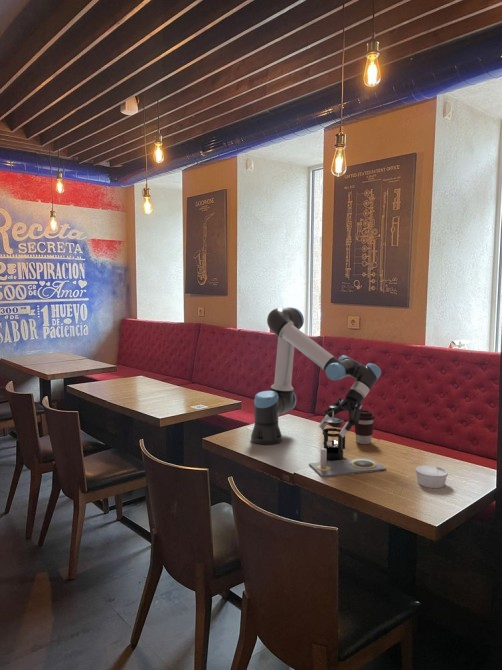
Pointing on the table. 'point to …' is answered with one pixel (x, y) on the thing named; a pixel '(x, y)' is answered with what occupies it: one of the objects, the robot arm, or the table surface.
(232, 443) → the table surface
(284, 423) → the table surface
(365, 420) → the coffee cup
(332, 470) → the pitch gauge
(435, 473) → the ramekin
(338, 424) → the french press
